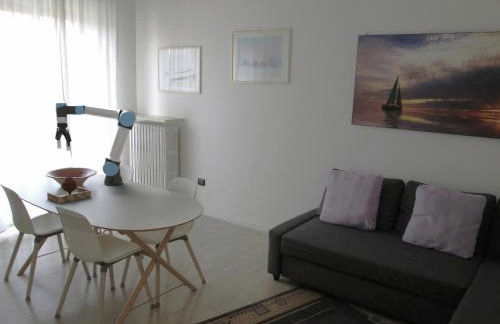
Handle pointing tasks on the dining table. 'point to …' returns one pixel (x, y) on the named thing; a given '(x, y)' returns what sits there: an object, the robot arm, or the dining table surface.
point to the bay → (70, 196)
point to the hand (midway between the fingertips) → (63, 149)
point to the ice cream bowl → (69, 185)
